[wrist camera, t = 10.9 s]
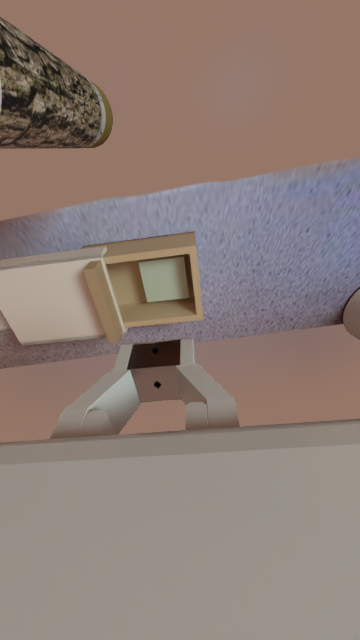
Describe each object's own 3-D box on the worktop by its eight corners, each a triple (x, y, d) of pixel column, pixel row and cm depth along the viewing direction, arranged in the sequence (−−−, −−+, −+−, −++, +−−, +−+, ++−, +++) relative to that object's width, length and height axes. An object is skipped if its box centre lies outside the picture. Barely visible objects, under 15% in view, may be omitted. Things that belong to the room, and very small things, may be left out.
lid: (106, 246, 37) (93, 261, 32) (129, 324, 45) (122, 347, 40) (-11, 261, 39) (-40, 278, 34) (30, 335, 46) (12, 357, 41)
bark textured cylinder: (51, 84, 31) (-217, -44, 10) (106, 75, 31) (-59, -76, 10) (70, 151, 35) (-99, 156, 14) (119, 144, 34) (20, 139, 14)
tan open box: (194, 231, 41) (196, 245, 35) (201, 298, 47) (203, 319, 41) (84, 246, 42) (67, 261, 36) (105, 308, 49) (94, 330, 43)
